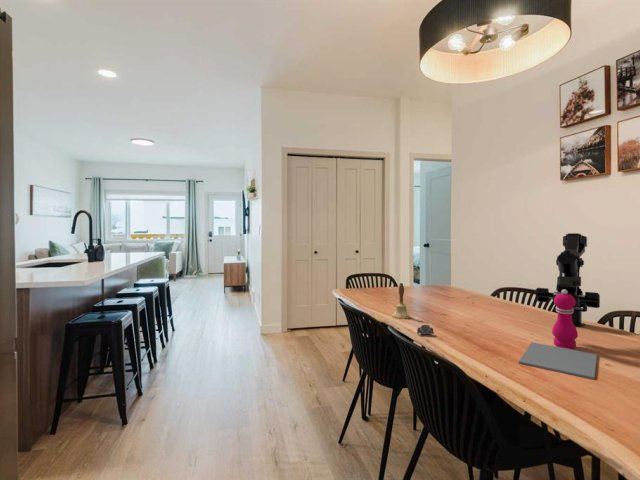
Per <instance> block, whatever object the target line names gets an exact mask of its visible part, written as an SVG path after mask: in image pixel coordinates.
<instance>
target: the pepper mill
mask: <svg viewBox="0 0 640 480" xmlns="http://www.w3.org/2000/svg"><path fill="white" fill-rule="evenodd" d="M567 293H568V291H567V290H565V289H563V290H562V291H561V294H558V295H556V296H555V298H554V299H553V303H555V304H554V306H555V311H556V312H557V313H556V314H557V319H556V320H555V323H554V324H553V326H552V329H551V333H552V335H553V337H554V338H553V345H554V346H555V347H561V348H567V349H572V350H574V349H576V347H577V342H576V340H577V338H578V336H579V335H578V330H577V328H576V327H577V326H576V327H575V326H574V324H573V322H572V313H573V312H574V311H573V310H574V309H573V308H572V307H574V306H575V303H576V302H575V299H574V297H573V296H572V295H570V294H567Z"/></svg>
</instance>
